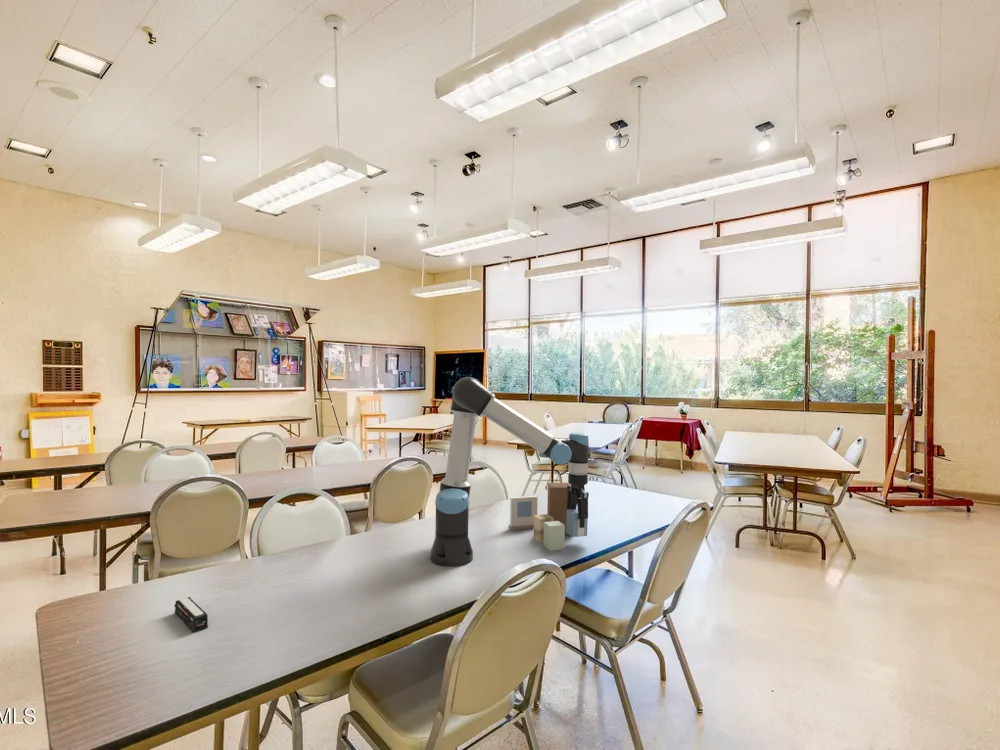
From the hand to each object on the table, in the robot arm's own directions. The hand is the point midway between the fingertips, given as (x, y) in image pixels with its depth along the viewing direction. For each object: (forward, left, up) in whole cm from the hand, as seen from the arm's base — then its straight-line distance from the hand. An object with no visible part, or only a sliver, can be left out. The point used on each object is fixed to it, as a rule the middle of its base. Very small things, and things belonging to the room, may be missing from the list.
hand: (576, 532), depth 194 cm
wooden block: (0, +16, -5) cm, 17 cm away
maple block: (-10, +10, -5) cm, 15 cm away
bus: (-124, -28, -5) cm, 128 cm away
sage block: (-10, 0, -5) cm, 11 cm away
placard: (-12, +27, -4) cm, 30 cm away
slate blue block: (0, 0, 0) cm, 0 cm away
